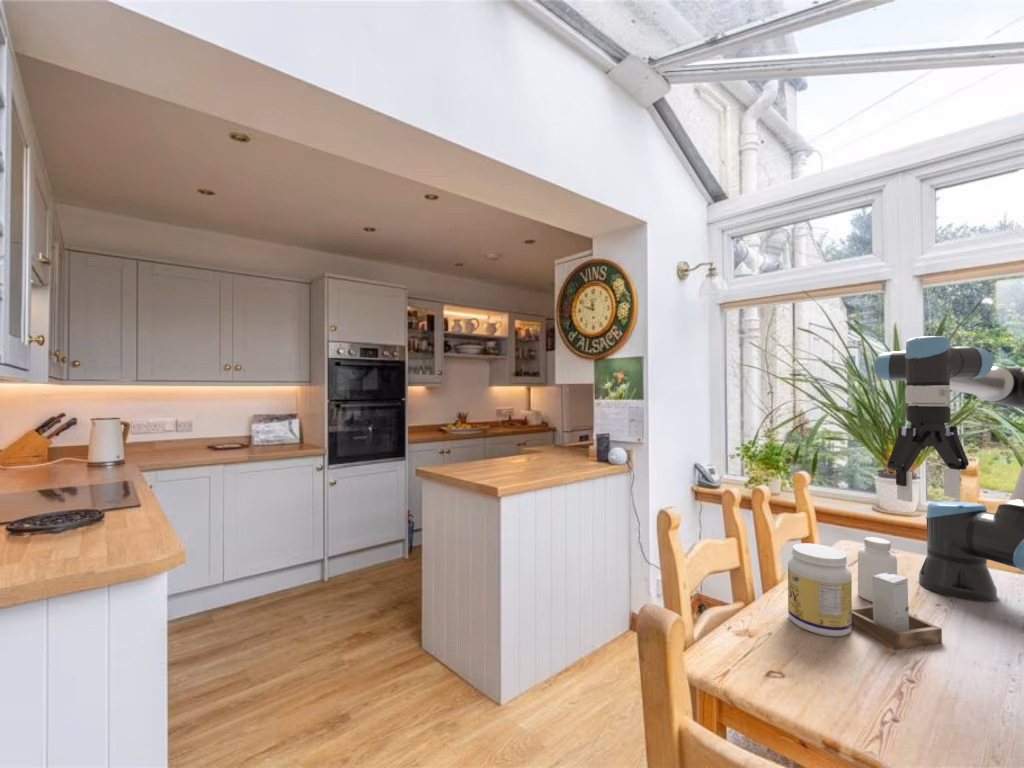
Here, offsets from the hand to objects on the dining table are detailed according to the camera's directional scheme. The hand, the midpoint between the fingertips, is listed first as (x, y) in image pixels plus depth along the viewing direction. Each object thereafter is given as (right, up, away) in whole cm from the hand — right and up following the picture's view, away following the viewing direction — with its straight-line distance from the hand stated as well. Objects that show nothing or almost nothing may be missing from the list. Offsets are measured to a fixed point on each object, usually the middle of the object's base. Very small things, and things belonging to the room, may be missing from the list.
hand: (928, 499), depth 107 cm
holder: (-11, -29, -3) cm, 31 cm away
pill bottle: (-1, -29, +14) cm, 32 cm away
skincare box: (-11, -29, -3) cm, 31 cm away
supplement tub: (-24, -29, +1) cm, 38 cm away
